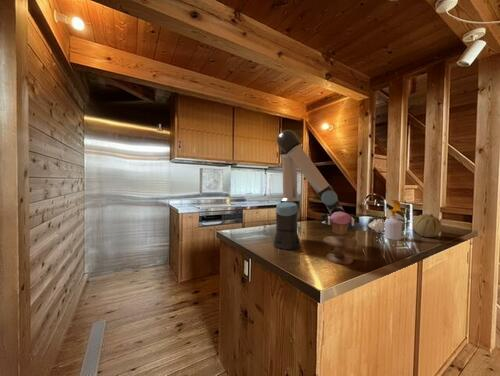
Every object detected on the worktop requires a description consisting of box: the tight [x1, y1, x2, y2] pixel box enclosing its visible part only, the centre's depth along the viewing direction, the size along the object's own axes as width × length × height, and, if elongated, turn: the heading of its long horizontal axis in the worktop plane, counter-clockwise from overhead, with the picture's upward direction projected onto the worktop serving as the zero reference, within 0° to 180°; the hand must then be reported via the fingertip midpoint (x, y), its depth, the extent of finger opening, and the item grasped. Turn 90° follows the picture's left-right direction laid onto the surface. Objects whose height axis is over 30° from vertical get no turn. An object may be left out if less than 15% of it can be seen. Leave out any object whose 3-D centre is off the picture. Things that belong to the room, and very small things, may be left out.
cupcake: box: [330, 211, 351, 235], centre depth 97 cm, size 9×9×10 cm
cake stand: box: [322, 235, 358, 265], centre depth 98 cm, size 14×14×9 cm
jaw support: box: [367, 218, 385, 234], centre depth 154 cm, size 12×9×10 cm
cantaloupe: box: [412, 214, 443, 238], centre depth 140 cm, size 15×15×15 cm
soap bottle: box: [383, 198, 403, 241], centre depth 136 cm, size 9×9×25 cm
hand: (341, 222), depth 93 cm, fingers closed on cupcake, 9 cm apart
